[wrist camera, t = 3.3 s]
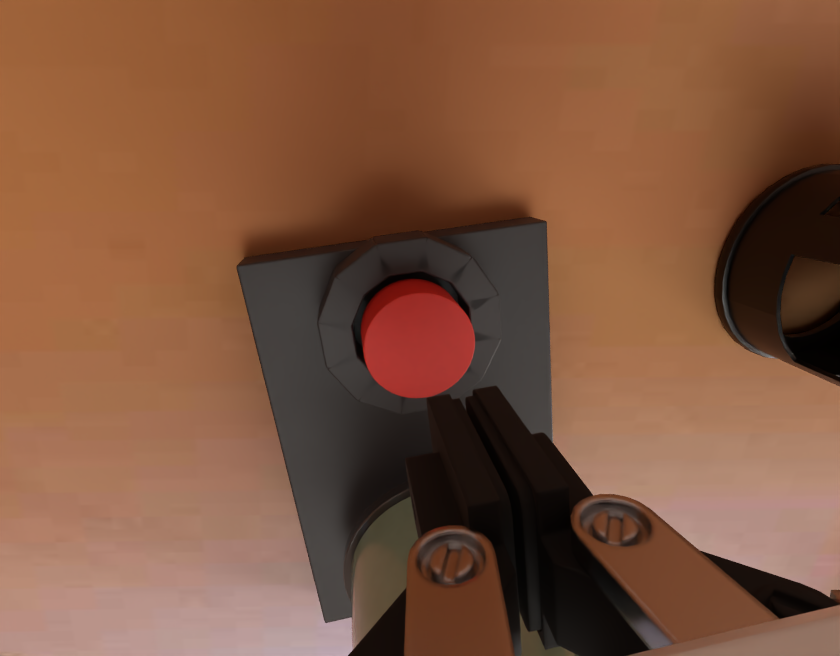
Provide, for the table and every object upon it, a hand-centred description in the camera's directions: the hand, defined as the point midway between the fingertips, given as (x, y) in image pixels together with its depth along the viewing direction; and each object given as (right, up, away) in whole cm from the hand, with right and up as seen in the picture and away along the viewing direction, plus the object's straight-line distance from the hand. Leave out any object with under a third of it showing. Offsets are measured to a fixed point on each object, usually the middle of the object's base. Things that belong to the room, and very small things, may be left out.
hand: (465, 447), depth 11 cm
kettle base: (-1, -2, +12) cm, 12 cm away
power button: (-1, +3, +7) cm, 8 cm away
